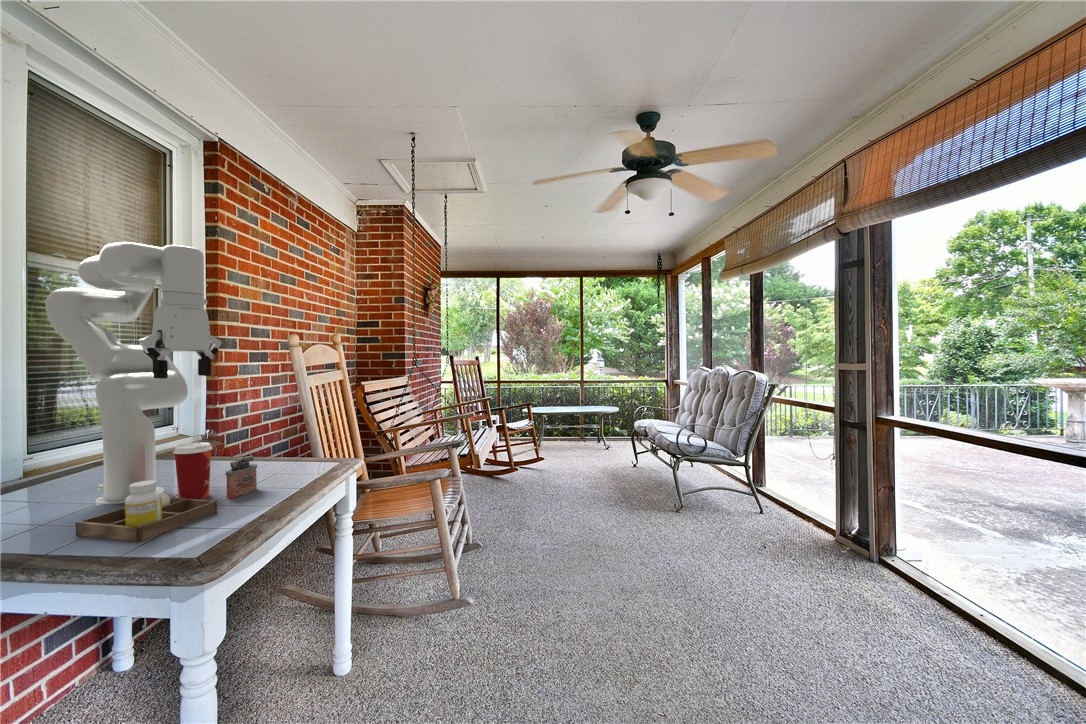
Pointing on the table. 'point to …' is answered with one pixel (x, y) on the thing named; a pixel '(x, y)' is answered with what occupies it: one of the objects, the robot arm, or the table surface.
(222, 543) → the table surface
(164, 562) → the table surface
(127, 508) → the supplement bottle
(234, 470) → the lighter
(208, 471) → the paper cup
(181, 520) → the wooden compartment tray
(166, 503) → the white ball
